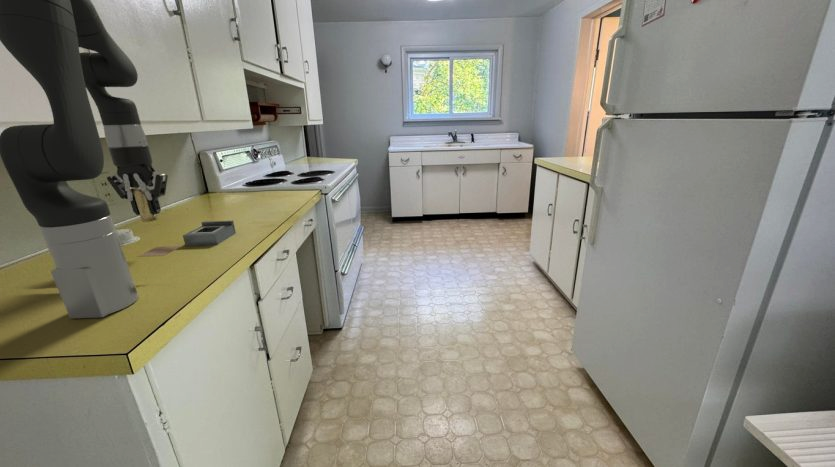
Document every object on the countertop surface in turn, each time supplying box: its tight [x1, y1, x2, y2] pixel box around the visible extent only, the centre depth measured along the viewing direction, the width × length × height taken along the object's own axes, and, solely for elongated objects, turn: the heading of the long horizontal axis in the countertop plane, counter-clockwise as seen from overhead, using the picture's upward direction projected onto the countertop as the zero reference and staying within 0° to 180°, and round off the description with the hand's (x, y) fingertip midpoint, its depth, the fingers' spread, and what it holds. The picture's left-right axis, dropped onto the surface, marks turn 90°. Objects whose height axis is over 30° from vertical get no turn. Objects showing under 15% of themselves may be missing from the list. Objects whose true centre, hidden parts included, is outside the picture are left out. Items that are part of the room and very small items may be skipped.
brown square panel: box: [137, 245, 182, 258], centre depth 91 cm, size 7×7×1 cm
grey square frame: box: [182, 220, 237, 247], centre depth 98 cm, size 10×9×5 cm
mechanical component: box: [116, 228, 141, 247], centre depth 99 cm, size 10×4×10 cm
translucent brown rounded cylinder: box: [133, 189, 159, 223], centre depth 87 cm, size 3×3×8 cm
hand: (148, 213), depth 87 cm, fingers closed on translucent brown rounded cylinder, 3 cm apart
